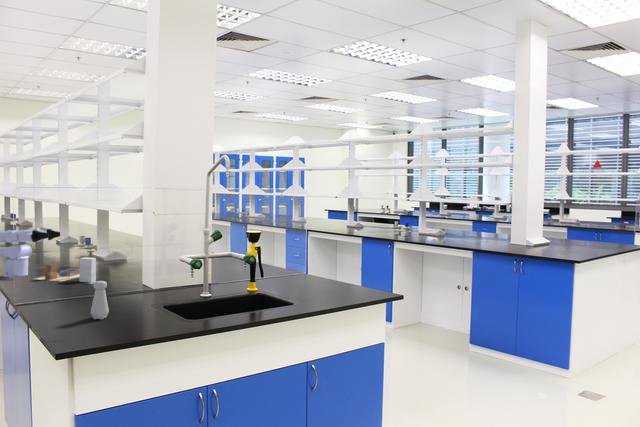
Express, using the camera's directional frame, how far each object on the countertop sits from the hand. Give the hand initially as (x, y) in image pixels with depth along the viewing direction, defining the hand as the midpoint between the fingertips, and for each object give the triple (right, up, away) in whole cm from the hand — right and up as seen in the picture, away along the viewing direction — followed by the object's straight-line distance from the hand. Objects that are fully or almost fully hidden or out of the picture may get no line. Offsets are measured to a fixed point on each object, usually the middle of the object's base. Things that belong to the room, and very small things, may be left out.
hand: (54, 234), depth 241 cm
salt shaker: (+51, -27, -66) cm, 88 cm away
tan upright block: (0, -21, -3) cm, 21 cm away
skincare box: (+18, -23, -5) cm, 30 cm away
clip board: (+2, -22, +4) cm, 22 cm away
